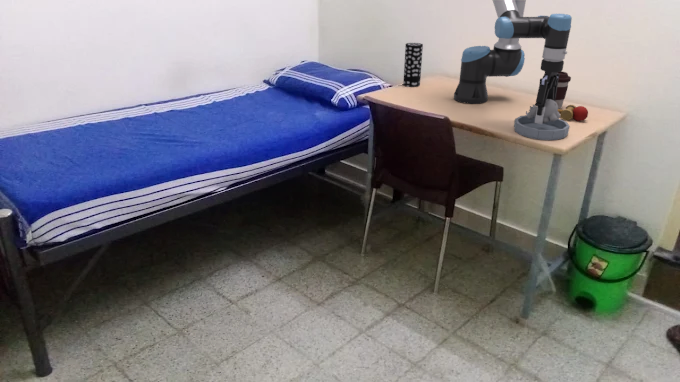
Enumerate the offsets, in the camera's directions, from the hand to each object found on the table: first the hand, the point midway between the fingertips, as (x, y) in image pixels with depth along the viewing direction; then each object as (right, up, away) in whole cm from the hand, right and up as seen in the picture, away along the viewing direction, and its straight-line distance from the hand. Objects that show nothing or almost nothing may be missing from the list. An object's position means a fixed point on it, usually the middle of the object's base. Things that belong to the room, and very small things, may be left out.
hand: (542, 120), depth 197 cm
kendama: (+16, +3, +18) cm, 24 cm away
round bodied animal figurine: (0, 0, +1) cm, 1 cm away
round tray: (0, -4, +2) cm, 4 cm away
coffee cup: (+17, +10, +32) cm, 37 cm away
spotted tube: (-41, +27, +65) cm, 81 cm away
